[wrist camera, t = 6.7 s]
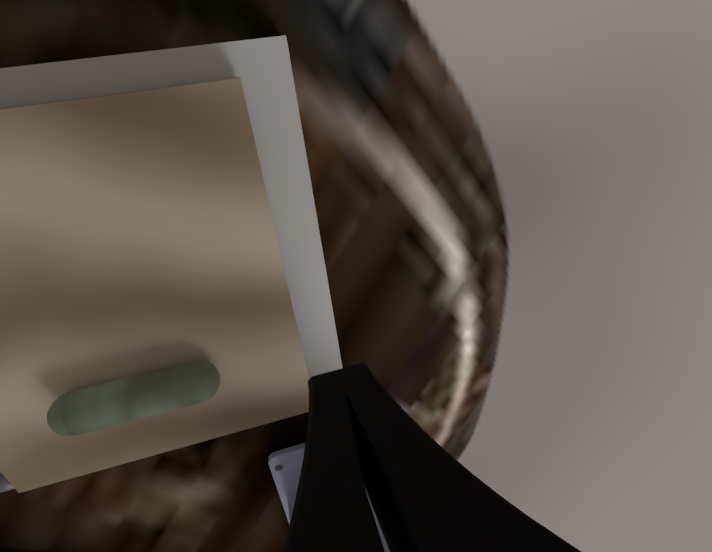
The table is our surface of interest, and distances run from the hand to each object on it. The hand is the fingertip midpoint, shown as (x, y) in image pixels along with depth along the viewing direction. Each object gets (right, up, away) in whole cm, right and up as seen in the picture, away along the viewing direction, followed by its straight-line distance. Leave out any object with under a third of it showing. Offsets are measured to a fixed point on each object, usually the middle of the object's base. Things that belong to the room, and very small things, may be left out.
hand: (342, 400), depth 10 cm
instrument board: (-9, +2, +5) cm, 10 cm away
